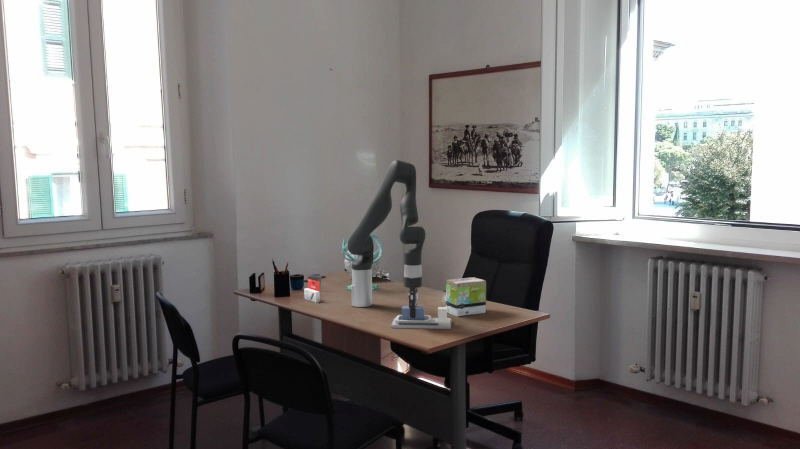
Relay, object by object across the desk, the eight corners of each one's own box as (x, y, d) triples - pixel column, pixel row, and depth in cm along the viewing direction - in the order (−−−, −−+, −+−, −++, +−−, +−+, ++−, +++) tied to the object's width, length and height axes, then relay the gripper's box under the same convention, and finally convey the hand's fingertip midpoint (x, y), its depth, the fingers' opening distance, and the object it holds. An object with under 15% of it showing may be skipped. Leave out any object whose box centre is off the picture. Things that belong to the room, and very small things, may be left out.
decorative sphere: (386, 279, 366) (386, 244, 364) (355, 283, 355) (354, 247, 353) (368, 274, 383) (368, 240, 380) (338, 278, 372) (337, 243, 370)
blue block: (402, 322, 269) (401, 308, 268) (403, 319, 273) (402, 305, 272) (424, 322, 268) (423, 308, 267) (424, 320, 272) (424, 306, 271)
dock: (391, 327, 265) (391, 310, 265) (394, 320, 277) (394, 304, 276) (450, 328, 263) (450, 311, 262) (451, 321, 275) (451, 304, 274)
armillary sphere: (359, 280, 363) (360, 218, 357) (392, 290, 345) (394, 224, 339) (329, 287, 347) (329, 222, 342) (362, 297, 330) (363, 228, 324)
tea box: (457, 317, 281) (457, 283, 279) (445, 312, 290) (445, 279, 288) (486, 313, 288) (486, 279, 286) (473, 308, 297) (473, 276, 295)
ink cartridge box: (316, 302, 312) (315, 282, 311) (304, 298, 321) (303, 279, 320) (320, 302, 314) (320, 281, 313) (308, 298, 322) (308, 278, 321)
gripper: (405, 271, 276) (405, 311, 277) (402, 278, 261) (402, 320, 263) (423, 272, 275) (423, 311, 277) (420, 278, 261) (421, 320, 263)
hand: (413, 315), depth 270 cm, fingers open, 4 cm apart
